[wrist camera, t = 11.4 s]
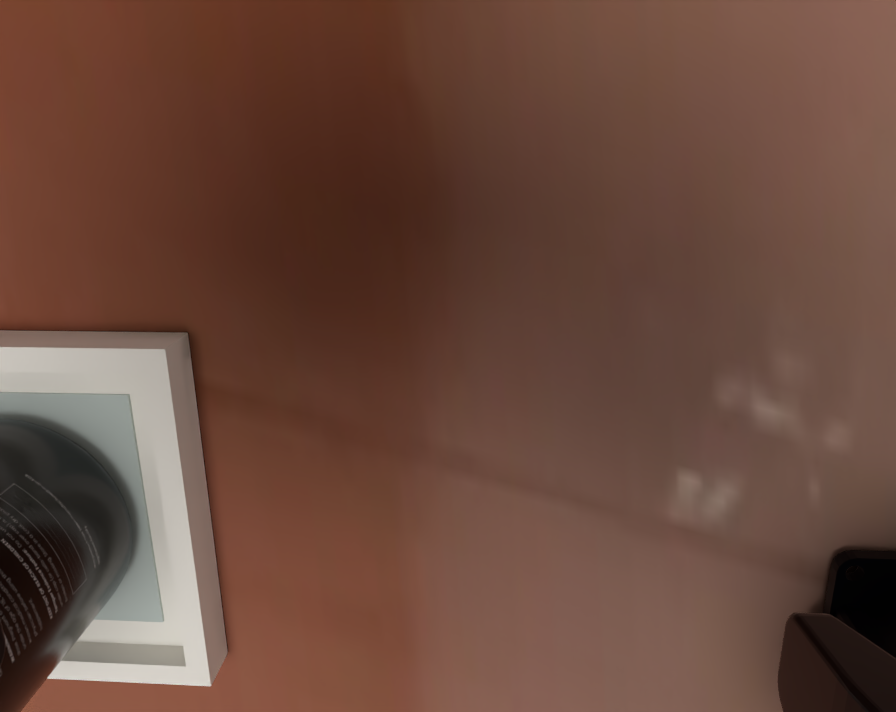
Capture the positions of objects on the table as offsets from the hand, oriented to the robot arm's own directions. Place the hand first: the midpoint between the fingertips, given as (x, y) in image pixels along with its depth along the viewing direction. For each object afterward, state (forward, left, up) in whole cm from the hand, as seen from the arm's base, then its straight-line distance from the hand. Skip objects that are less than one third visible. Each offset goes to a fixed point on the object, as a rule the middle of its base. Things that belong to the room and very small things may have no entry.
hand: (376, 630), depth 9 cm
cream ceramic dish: (+13, +6, -13) cm, 19 cm away
